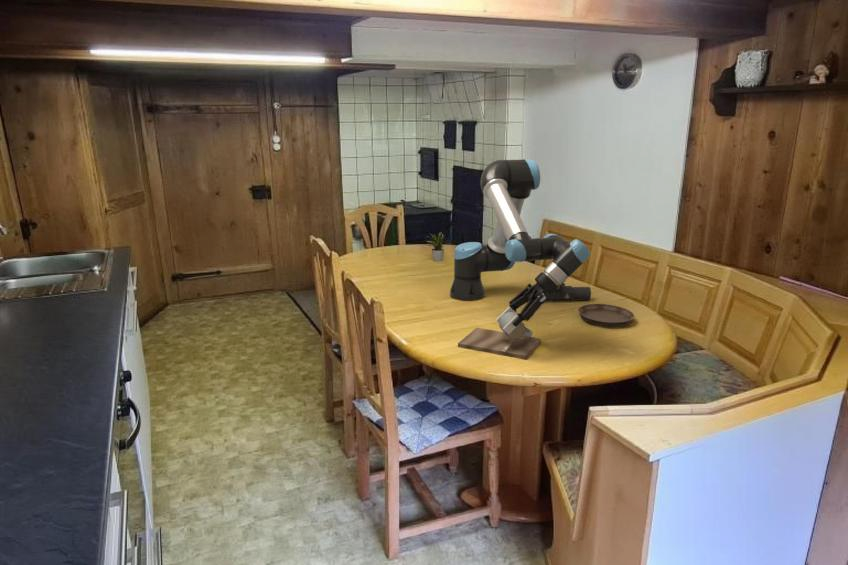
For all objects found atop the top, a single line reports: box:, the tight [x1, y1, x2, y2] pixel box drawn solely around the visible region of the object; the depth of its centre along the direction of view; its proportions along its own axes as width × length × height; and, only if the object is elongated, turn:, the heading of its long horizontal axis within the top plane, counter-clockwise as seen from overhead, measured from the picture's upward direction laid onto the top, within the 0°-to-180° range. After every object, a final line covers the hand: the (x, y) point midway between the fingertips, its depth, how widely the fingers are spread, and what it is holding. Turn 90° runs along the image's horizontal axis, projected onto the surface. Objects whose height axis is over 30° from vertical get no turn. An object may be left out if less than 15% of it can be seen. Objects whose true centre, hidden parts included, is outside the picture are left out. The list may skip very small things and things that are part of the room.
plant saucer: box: [577, 303, 635, 328], centre depth 213 cm, size 21×21×3 cm
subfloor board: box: [457, 327, 542, 360], centre depth 190 cm, size 24×17×1 cm
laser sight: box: [545, 282, 592, 302], centre depth 236 cm, size 10×22×10 cm, turn 91°
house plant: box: [426, 231, 447, 262], centre depth 308 cm, size 14×14×16 cm
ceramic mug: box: [498, 312, 533, 340], centre depth 186 cm, size 11×8×8 cm
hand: (502, 326), depth 186 cm, fingers closed on ceramic mug, 8 cm apart
